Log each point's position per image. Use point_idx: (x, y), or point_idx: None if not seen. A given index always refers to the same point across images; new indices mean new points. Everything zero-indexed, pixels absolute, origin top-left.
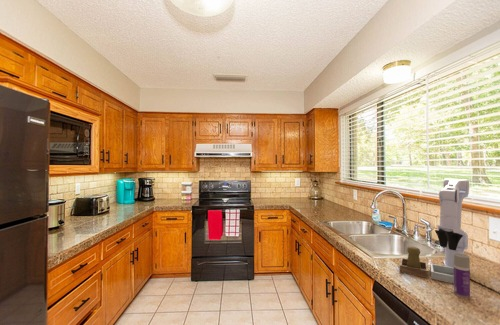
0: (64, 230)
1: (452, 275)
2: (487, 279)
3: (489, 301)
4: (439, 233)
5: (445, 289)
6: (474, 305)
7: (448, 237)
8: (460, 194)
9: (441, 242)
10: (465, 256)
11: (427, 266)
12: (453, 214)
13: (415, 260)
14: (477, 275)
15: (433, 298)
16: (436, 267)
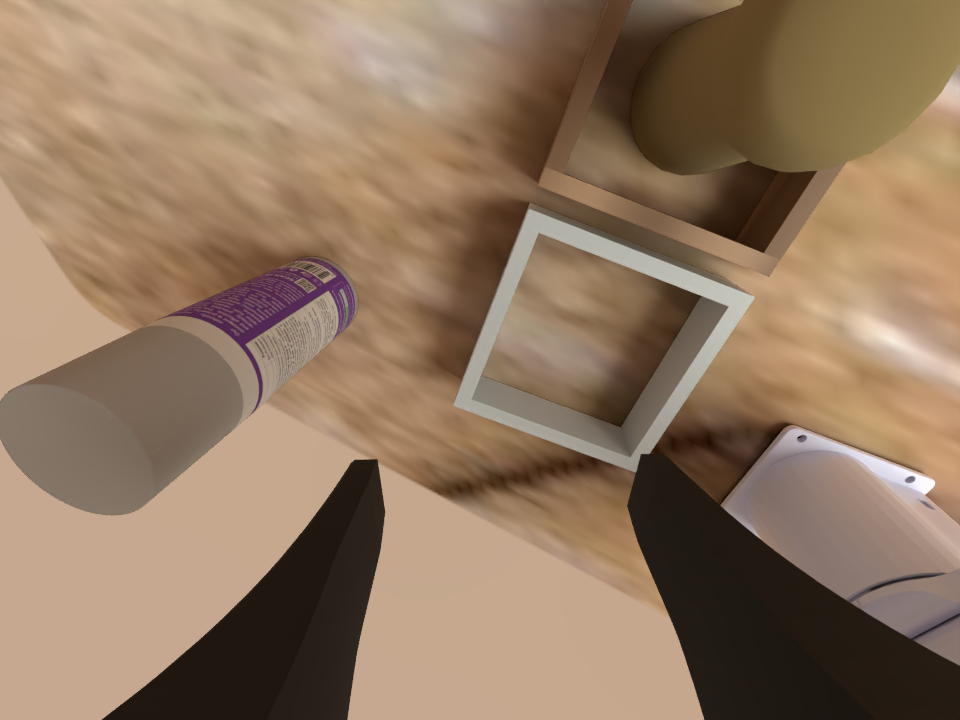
0: None
1: (486, 351)
2: (593, 547)
3: (293, 397)
4: (802, 683)
5: (356, 223)
6: (200, 293)
7: (218, 640)
8: None
9: (671, 512)
10: (62, 478)
11: (664, 229)
12: None
13: (687, 82)
14: None
15: (159, 52)
16: (702, 326)
